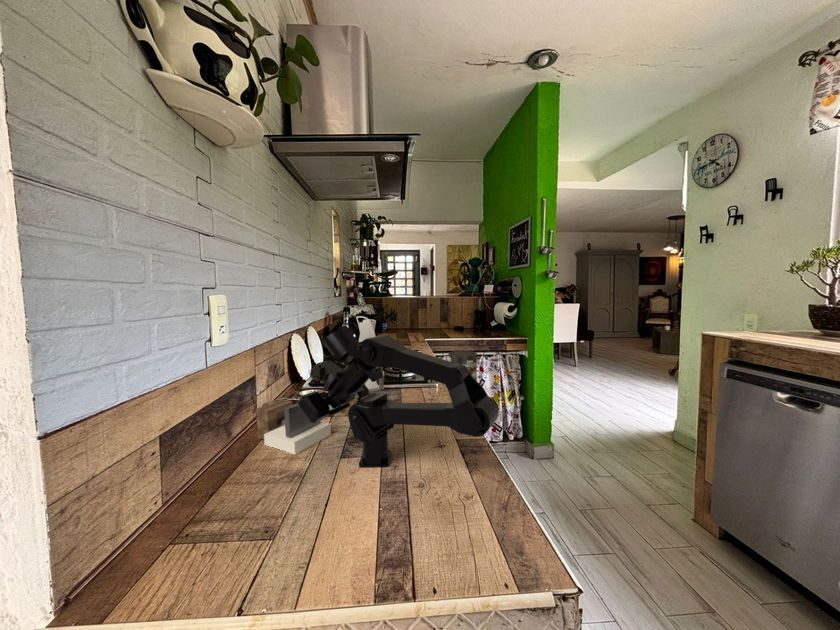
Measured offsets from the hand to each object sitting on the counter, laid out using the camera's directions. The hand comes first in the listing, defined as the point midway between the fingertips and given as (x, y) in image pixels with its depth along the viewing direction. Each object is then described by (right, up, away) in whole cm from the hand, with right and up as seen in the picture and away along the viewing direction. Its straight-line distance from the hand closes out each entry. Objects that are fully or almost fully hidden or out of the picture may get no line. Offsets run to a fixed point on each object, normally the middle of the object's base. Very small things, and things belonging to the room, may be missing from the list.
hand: (319, 417), depth 84 cm
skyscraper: (+5, -3, +48) cm, 48 cm away
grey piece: (-7, -4, +4) cm, 9 cm away
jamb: (-14, -7, +8) cm, 17 cm away
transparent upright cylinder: (+40, -3, +42) cm, 59 cm away
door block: (-6, -7, +4) cm, 10 cm away
